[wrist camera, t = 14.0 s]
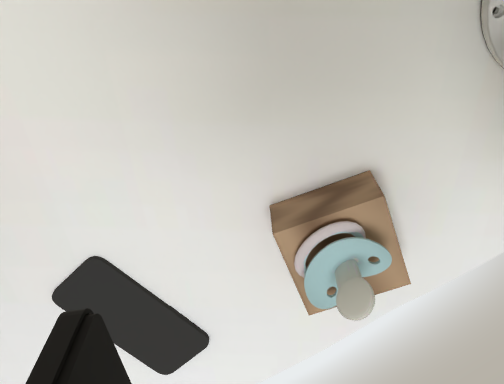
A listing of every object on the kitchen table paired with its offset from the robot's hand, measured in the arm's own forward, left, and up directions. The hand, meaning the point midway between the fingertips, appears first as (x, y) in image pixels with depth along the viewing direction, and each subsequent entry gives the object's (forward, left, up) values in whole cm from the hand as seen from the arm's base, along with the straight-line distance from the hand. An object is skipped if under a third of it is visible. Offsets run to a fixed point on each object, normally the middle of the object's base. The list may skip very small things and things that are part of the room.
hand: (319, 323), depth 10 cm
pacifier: (-3, +16, -24) cm, 29 cm away
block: (-3, +16, -29) cm, 33 cm away
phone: (+17, +23, -29) cm, 41 cm away
